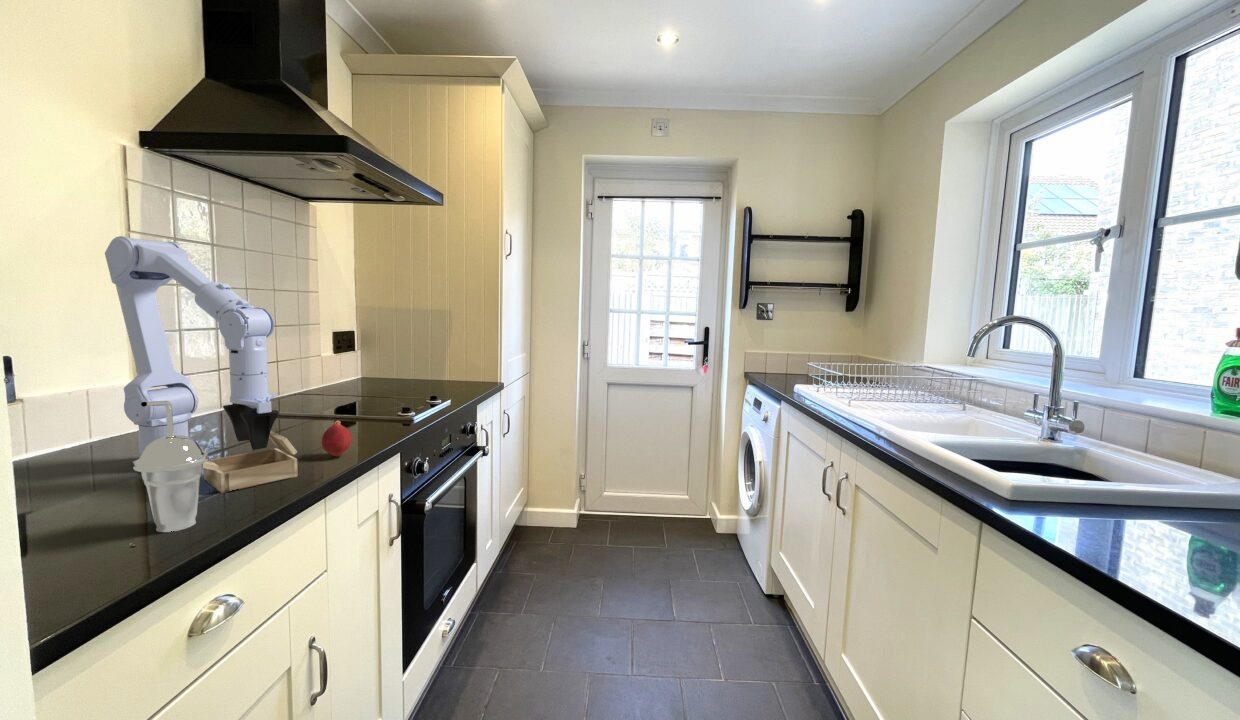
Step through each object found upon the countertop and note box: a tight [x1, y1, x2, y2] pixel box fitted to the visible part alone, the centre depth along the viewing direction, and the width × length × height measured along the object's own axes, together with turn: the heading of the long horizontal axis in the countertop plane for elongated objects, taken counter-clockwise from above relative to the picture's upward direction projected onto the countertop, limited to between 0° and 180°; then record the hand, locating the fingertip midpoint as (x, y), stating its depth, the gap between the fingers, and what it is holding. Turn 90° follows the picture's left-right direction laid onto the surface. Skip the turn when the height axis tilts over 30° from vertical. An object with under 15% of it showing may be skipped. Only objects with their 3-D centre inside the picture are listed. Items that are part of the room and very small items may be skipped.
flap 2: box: [269, 430, 298, 456], centre depth 100 cm, size 9×4×1 cm
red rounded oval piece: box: [321, 420, 353, 458], centre depth 111 cm, size 6×6×8 cm
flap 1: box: [203, 459, 219, 471], centre depth 90 cm, size 9×4×1 cm, turn 53°
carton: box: [202, 447, 299, 494], centre depth 97 cm, size 11×12×4 cm
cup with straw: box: [132, 401, 210, 533], centre depth 75 cm, size 8×9×20 cm
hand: (252, 444), depth 96 cm, fingers open, 7 cm apart
